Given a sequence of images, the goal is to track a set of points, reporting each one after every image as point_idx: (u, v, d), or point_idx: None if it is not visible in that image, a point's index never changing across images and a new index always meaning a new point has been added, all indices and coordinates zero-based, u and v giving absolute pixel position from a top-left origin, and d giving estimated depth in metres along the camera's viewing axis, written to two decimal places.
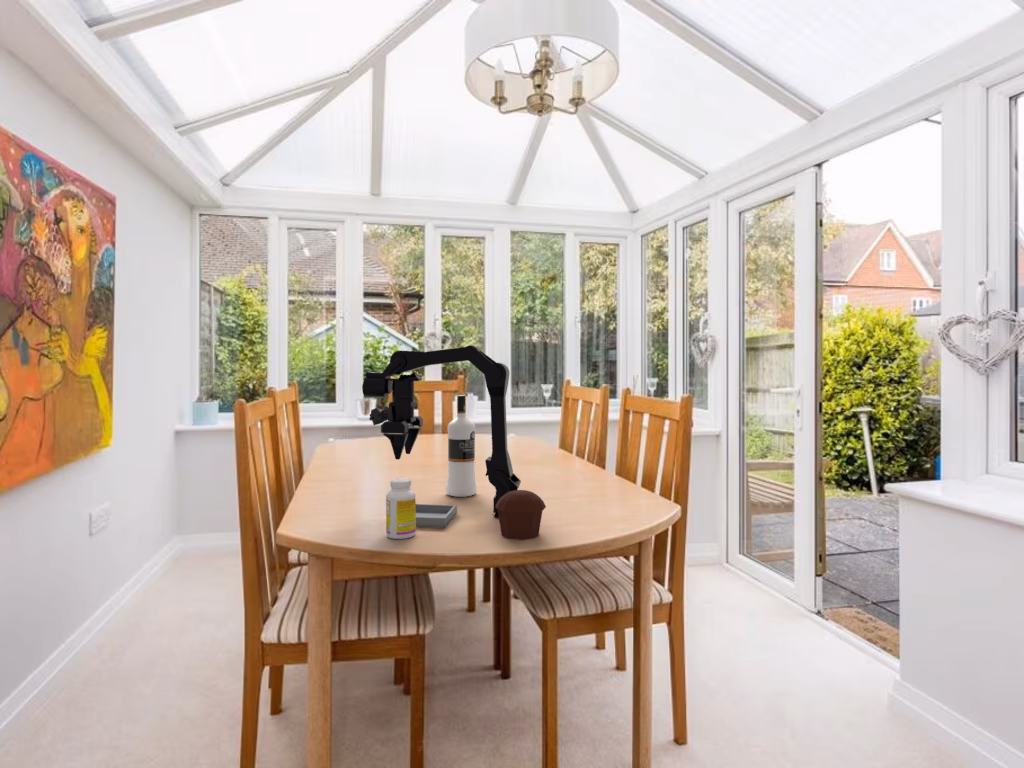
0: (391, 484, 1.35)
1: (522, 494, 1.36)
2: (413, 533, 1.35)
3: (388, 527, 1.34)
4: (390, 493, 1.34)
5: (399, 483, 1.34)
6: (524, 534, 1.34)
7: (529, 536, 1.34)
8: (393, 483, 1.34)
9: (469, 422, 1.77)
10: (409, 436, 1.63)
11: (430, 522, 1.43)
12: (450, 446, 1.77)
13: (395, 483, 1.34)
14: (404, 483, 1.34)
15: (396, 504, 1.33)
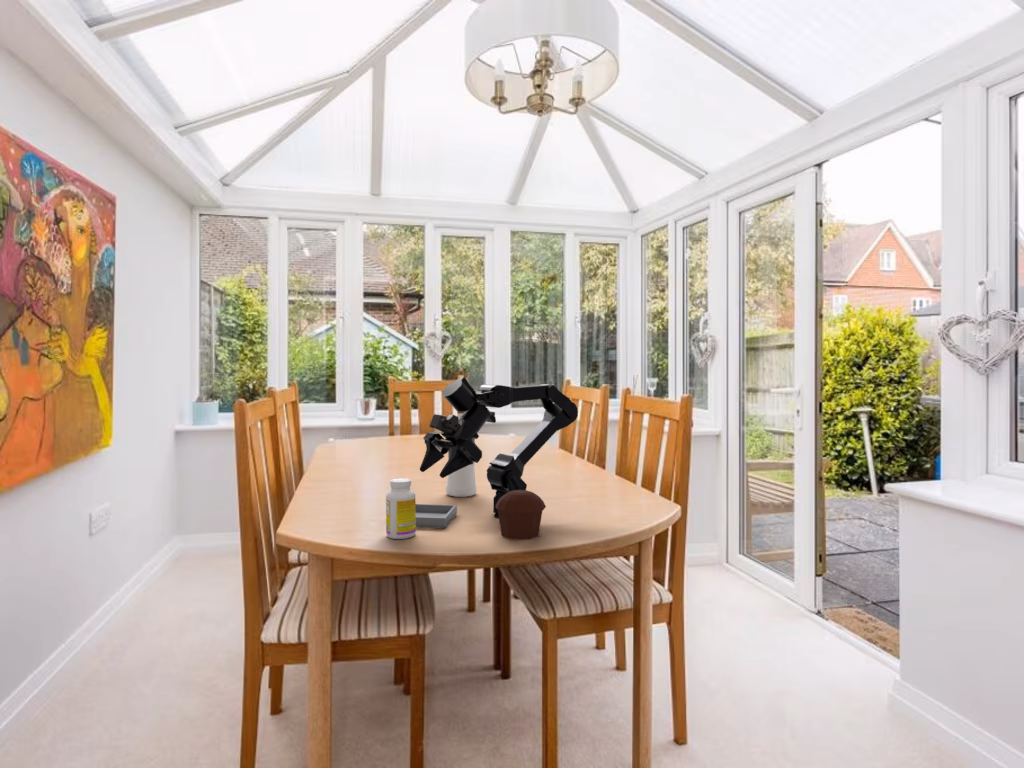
0: (391, 484, 1.35)
1: (522, 494, 1.36)
2: (413, 533, 1.35)
3: (388, 527, 1.34)
4: (390, 493, 1.34)
5: (399, 483, 1.34)
6: (524, 534, 1.34)
7: (529, 536, 1.34)
8: (393, 483, 1.34)
9: None
10: (433, 456, 1.47)
11: (430, 522, 1.43)
12: None
13: (395, 483, 1.34)
14: (404, 483, 1.34)
15: (396, 504, 1.33)
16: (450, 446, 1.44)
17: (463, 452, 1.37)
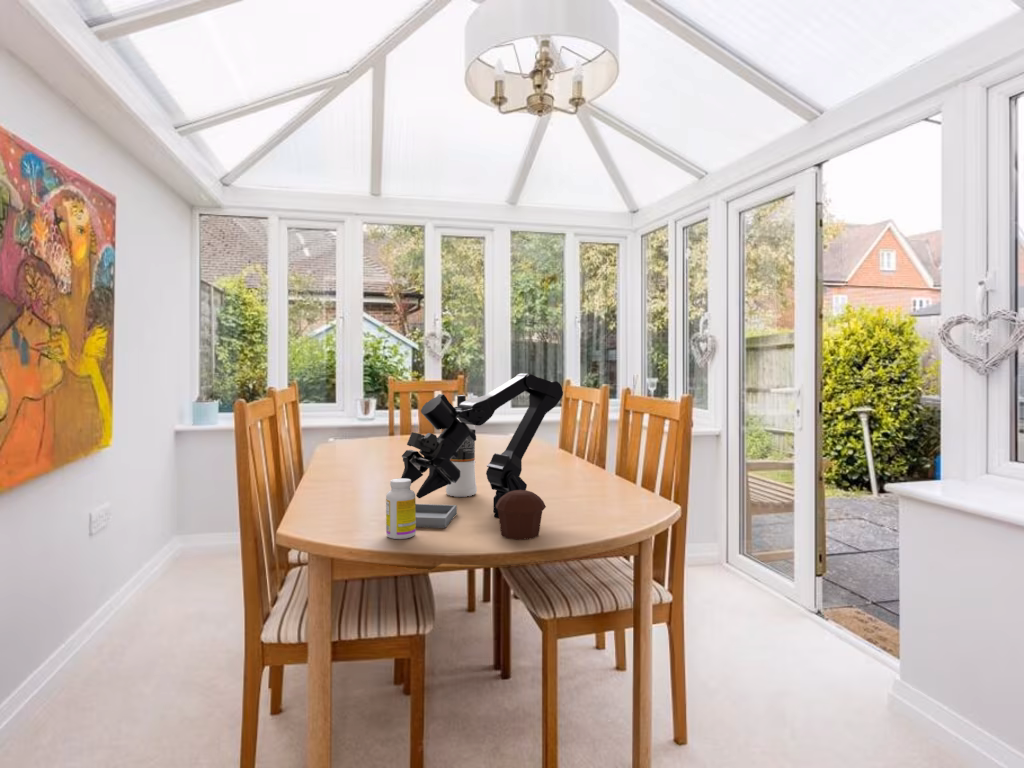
0: (391, 484, 1.35)
1: (522, 494, 1.36)
2: (413, 533, 1.35)
3: (388, 527, 1.34)
4: (390, 493, 1.34)
5: (399, 483, 1.34)
6: (524, 534, 1.34)
7: (529, 536, 1.34)
8: (393, 483, 1.34)
9: None
10: (411, 475, 1.43)
11: (430, 522, 1.43)
12: None
13: (395, 483, 1.34)
14: (404, 483, 1.34)
15: (396, 504, 1.33)
16: (428, 465, 1.40)
17: (440, 472, 1.33)
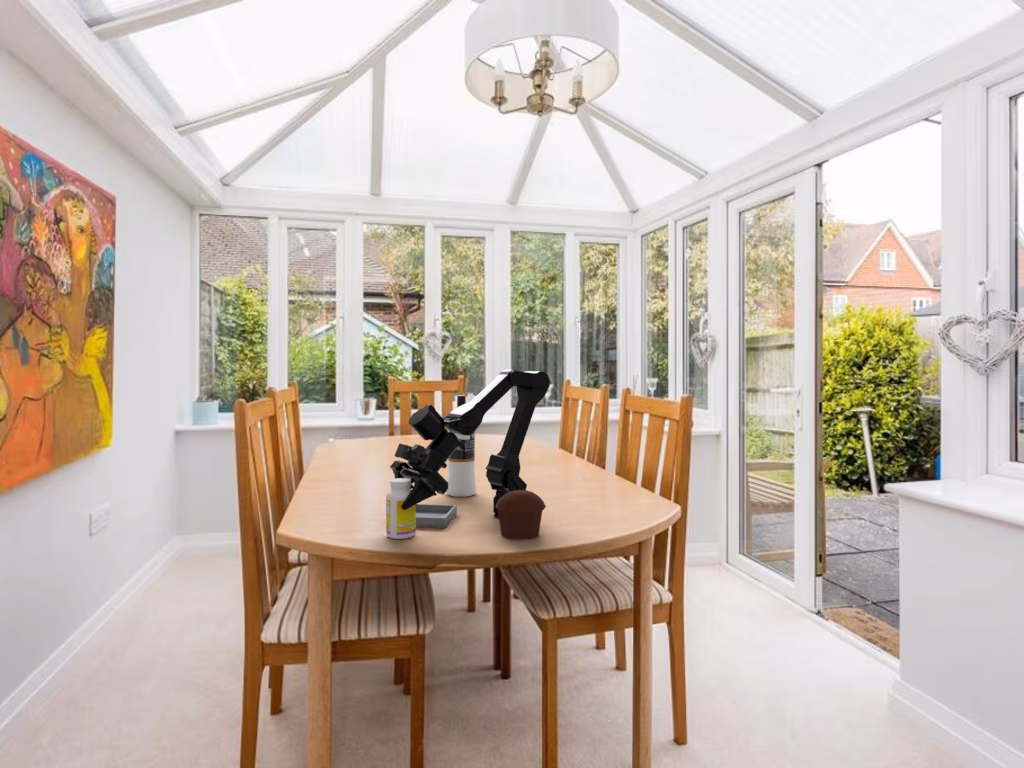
0: (391, 484, 1.35)
1: (522, 494, 1.36)
2: (413, 533, 1.35)
3: (388, 527, 1.34)
4: (390, 493, 1.34)
5: (399, 483, 1.34)
6: (524, 534, 1.34)
7: (529, 536, 1.34)
8: (393, 483, 1.34)
9: None
10: None
11: (430, 522, 1.43)
12: None
13: (395, 483, 1.34)
14: (404, 483, 1.34)
15: (396, 503, 1.33)
16: (416, 476, 1.38)
17: (425, 483, 1.32)
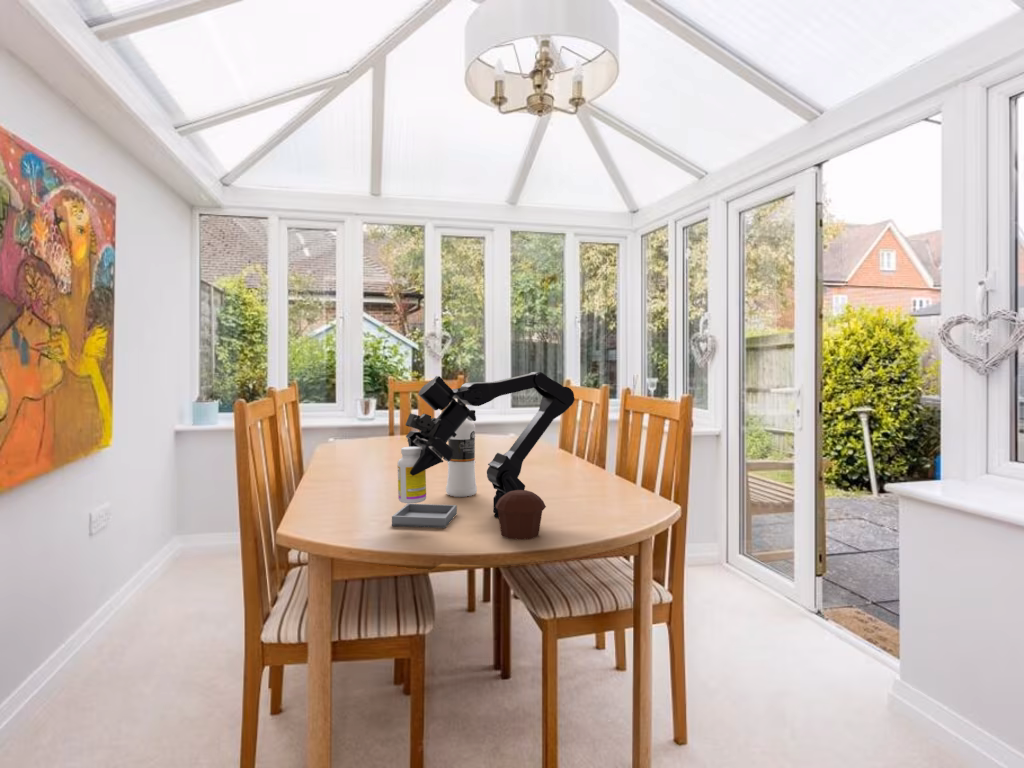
0: (401, 451, 1.42)
1: (522, 494, 1.36)
2: (423, 498, 1.42)
3: (399, 492, 1.42)
4: (400, 460, 1.42)
5: (408, 450, 1.41)
6: (524, 534, 1.34)
7: (529, 536, 1.34)
8: (403, 450, 1.42)
9: (469, 422, 1.77)
10: None
11: (430, 522, 1.43)
12: (450, 446, 1.77)
13: (404, 450, 1.41)
14: (413, 450, 1.41)
15: (405, 469, 1.40)
16: (427, 445, 1.45)
17: (431, 450, 1.39)
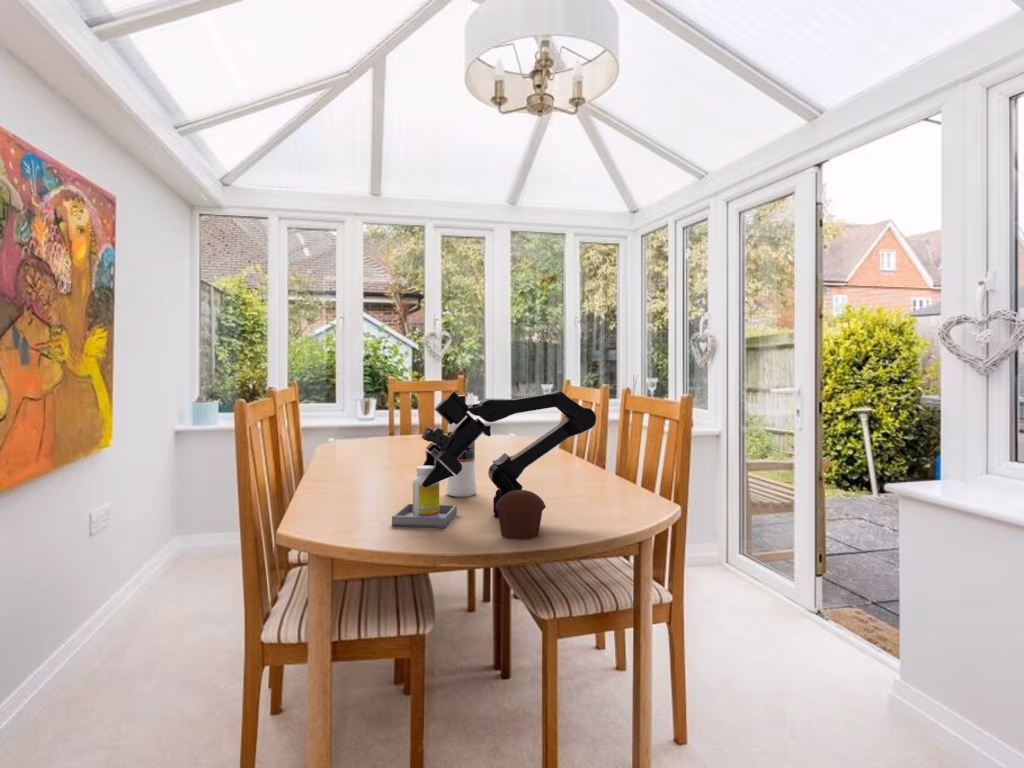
0: None
1: (522, 494, 1.36)
2: (434, 516, 1.48)
3: (413, 508, 1.49)
4: (415, 478, 1.49)
5: (422, 469, 1.48)
6: (524, 534, 1.34)
7: (529, 536, 1.34)
8: (417, 469, 1.49)
9: None
10: None
11: (430, 522, 1.43)
12: None
13: (419, 469, 1.48)
14: (426, 469, 1.48)
15: (418, 487, 1.47)
16: None
17: (442, 464, 1.43)
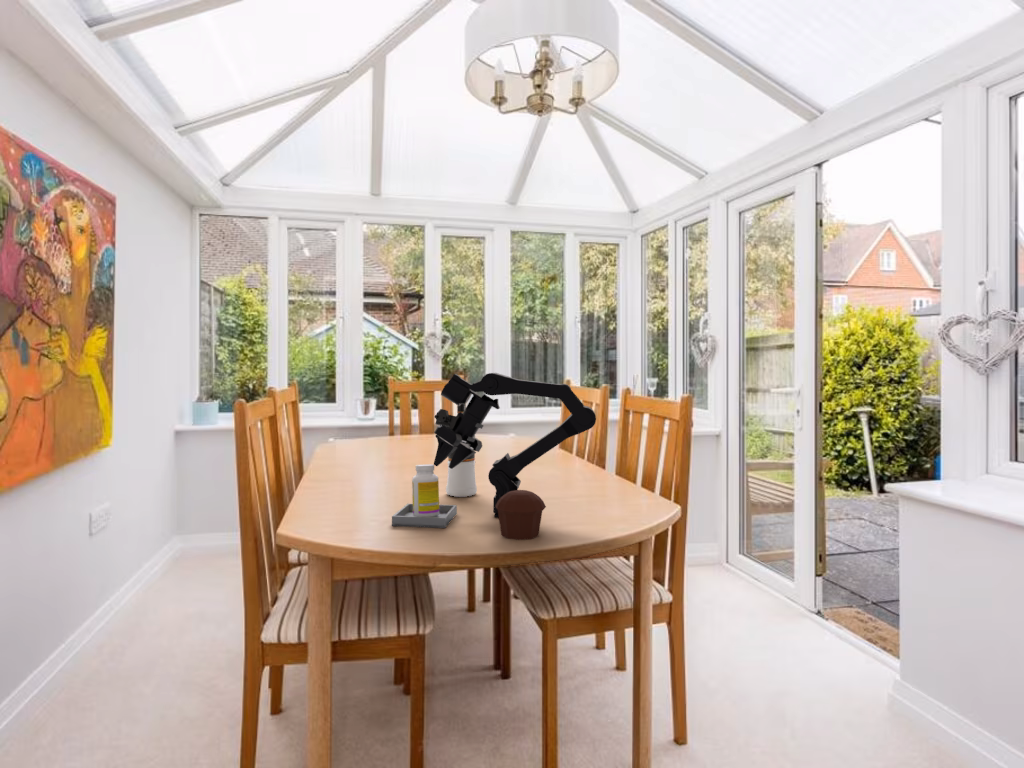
0: None
1: (522, 494, 1.36)
2: (434, 513, 1.48)
3: (413, 507, 1.49)
4: (414, 476, 1.50)
5: (421, 467, 1.49)
6: (524, 534, 1.34)
7: (529, 536, 1.34)
8: (416, 467, 1.50)
9: None
10: (461, 453, 1.60)
11: (430, 522, 1.43)
12: None
13: (418, 467, 1.49)
14: (425, 467, 1.49)
15: (417, 485, 1.48)
16: None
17: (440, 438, 1.49)
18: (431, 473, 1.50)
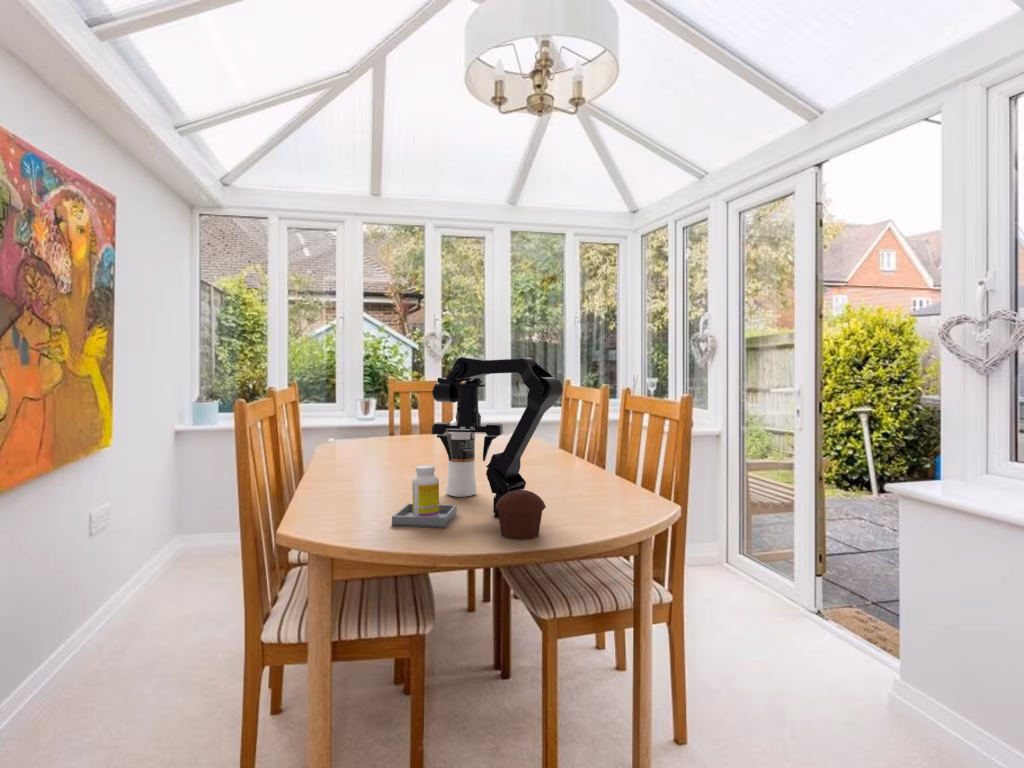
0: (416, 470, 1.49)
1: (522, 494, 1.36)
2: (435, 515, 1.48)
3: (413, 508, 1.49)
4: (414, 478, 1.49)
5: (421, 469, 1.48)
6: (523, 534, 1.34)
7: (529, 536, 1.34)
8: (417, 469, 1.48)
9: None
10: None
11: (430, 522, 1.43)
12: None
13: (418, 469, 1.48)
14: (426, 469, 1.48)
15: (418, 487, 1.47)
16: None
17: None
18: (431, 475, 1.49)
